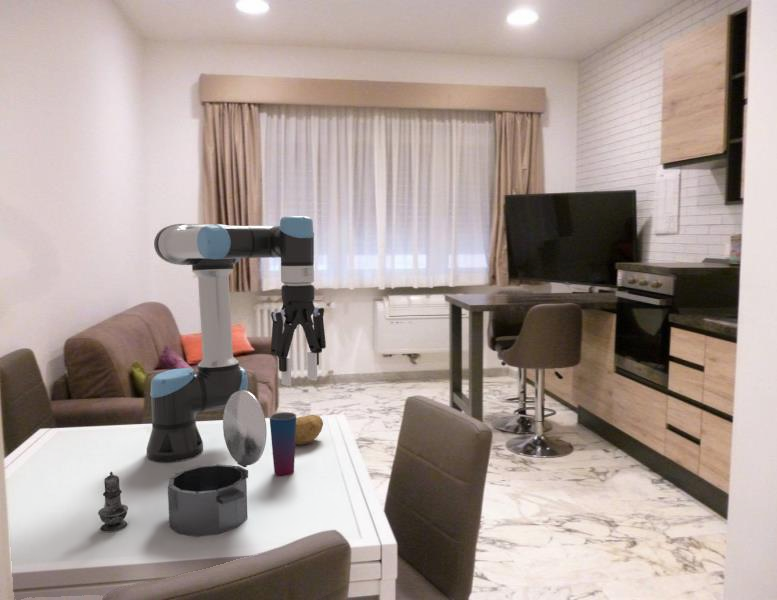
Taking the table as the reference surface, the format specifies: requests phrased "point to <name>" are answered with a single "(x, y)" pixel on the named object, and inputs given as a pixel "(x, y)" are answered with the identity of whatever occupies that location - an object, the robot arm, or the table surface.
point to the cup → (283, 442)
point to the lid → (244, 428)
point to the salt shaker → (113, 506)
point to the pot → (207, 499)
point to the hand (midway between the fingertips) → (299, 382)
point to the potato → (307, 428)
